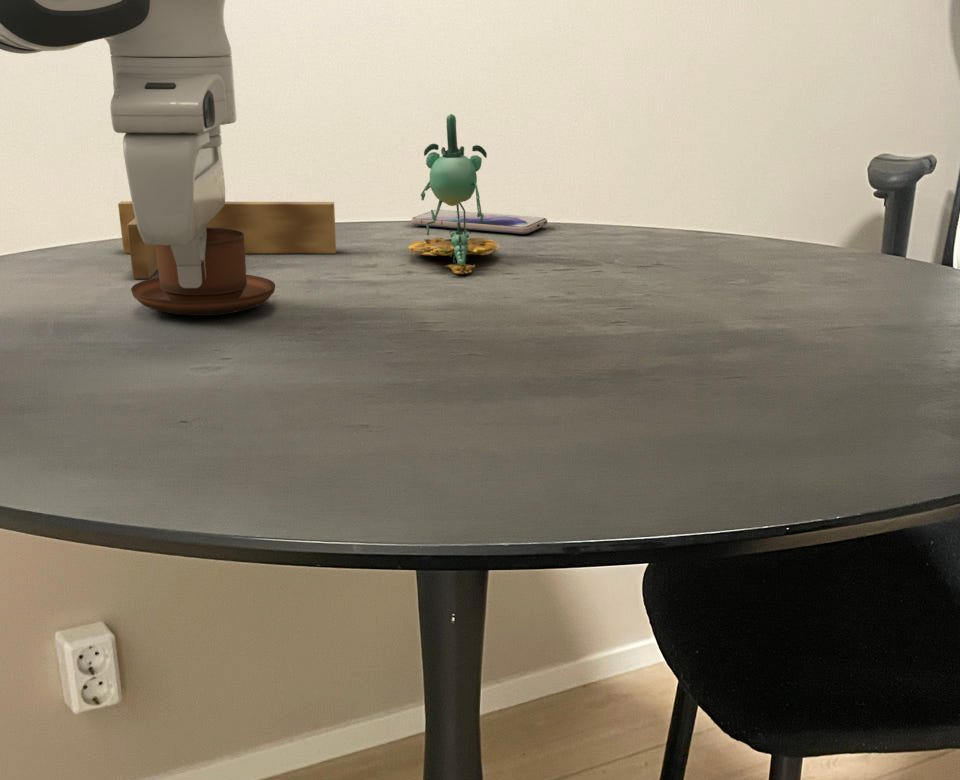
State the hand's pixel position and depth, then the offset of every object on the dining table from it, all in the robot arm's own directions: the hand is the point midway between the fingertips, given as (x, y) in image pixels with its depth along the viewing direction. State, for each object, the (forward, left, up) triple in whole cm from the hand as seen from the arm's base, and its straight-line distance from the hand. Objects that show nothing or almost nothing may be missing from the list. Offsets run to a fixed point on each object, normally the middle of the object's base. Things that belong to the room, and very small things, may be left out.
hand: (193, 284), depth 101 cm
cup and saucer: (0, +6, -3) cm, 7 cm away
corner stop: (-1, +26, -3) cm, 27 cm away
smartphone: (+26, +50, -3) cm, 56 cm away
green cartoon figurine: (+22, +29, -3) cm, 36 cm away
